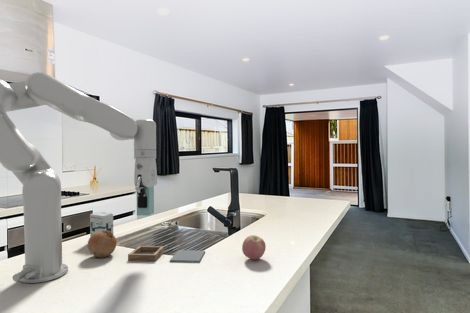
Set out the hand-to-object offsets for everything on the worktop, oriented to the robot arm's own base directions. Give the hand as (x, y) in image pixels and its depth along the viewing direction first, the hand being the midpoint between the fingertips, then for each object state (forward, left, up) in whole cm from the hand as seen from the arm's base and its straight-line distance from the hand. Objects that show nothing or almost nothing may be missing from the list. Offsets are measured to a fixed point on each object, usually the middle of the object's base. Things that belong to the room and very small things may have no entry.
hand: (145, 205), depth 107 cm
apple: (-1, -38, -18) cm, 42 cm away
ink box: (+15, +25, -18) cm, 34 cm away
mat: (0, -15, -18) cm, 23 cm away
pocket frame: (0, 0, -18) cm, 18 cm away
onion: (-1, +16, -18) cm, 24 cm away
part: (0, 0, -3) cm, 3 cm away
